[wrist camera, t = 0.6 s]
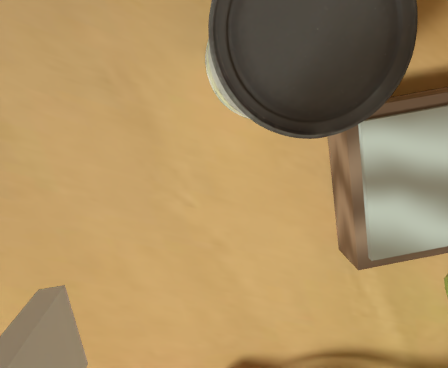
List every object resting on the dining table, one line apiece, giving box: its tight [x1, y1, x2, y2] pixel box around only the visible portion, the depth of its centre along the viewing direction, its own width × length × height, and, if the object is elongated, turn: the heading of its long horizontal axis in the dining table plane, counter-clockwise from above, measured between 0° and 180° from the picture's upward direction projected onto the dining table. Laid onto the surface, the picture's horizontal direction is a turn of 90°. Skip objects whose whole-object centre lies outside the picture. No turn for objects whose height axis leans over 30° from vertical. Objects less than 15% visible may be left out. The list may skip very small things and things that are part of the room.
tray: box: [328, 87, 448, 270], centre depth 31 cm, size 14×14×5 cm
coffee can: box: [205, 0, 417, 139], centre depth 24 cm, size 10×10×14 cm
